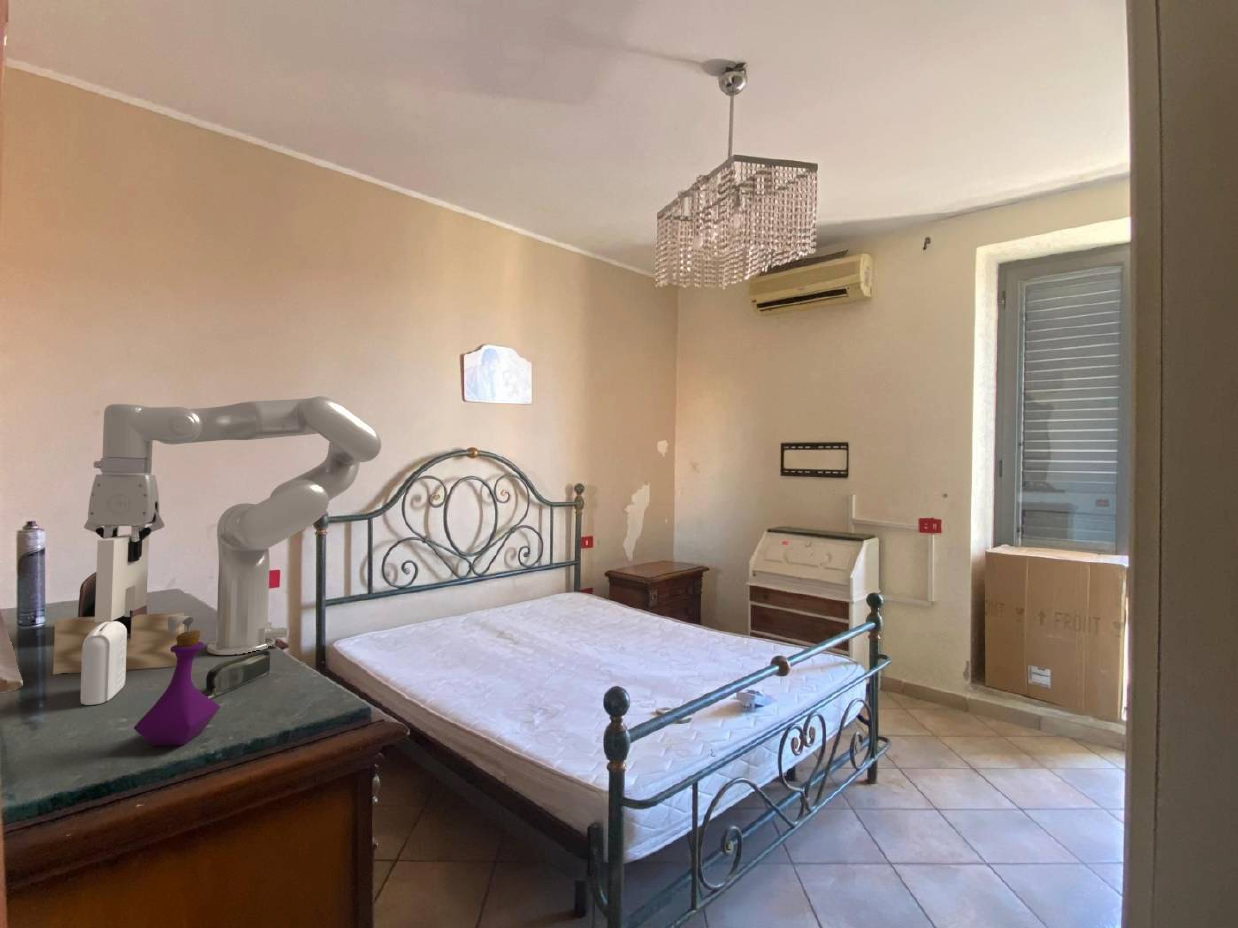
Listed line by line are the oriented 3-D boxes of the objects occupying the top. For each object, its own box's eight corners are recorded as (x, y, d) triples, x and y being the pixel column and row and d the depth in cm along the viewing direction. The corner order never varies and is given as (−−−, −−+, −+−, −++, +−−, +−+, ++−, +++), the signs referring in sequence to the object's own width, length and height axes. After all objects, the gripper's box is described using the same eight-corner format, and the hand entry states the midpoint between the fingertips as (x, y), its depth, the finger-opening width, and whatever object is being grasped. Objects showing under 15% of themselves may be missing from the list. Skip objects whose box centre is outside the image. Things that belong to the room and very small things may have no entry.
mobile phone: (260, 647, 115) (196, 670, 100) (274, 648, 115) (213, 671, 100) (258, 673, 115) (195, 700, 100) (273, 674, 115) (211, 701, 100)
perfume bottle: (168, 728, 89) (172, 609, 90) (220, 727, 90) (224, 608, 90) (131, 751, 82) (136, 621, 82) (188, 750, 83) (192, 621, 83)
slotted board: (183, 662, 120) (184, 612, 120) (178, 666, 117) (179, 615, 117) (61, 670, 114) (63, 617, 114) (53, 674, 111) (55, 621, 112)
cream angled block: (111, 621, 109) (114, 539, 110) (94, 621, 109) (97, 540, 109) (146, 604, 123) (149, 532, 123) (132, 605, 122) (134, 532, 122)
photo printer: (98, 687, 106) (100, 617, 106) (128, 683, 107) (130, 615, 108) (75, 707, 96) (78, 631, 97) (109, 704, 98) (112, 629, 98)
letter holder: (75, 644, 131) (77, 580, 131) (96, 624, 148) (98, 567, 148) (133, 638, 136) (135, 577, 136) (147, 619, 153) (149, 565, 153)
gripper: (65, 466, 110) (61, 565, 110) (167, 468, 115) (164, 563, 115) (87, 466, 117) (84, 559, 117) (183, 468, 122) (180, 558, 122)
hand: (123, 560), depth 116 cm, fingers closed on cream angled block, 2 cm apart
